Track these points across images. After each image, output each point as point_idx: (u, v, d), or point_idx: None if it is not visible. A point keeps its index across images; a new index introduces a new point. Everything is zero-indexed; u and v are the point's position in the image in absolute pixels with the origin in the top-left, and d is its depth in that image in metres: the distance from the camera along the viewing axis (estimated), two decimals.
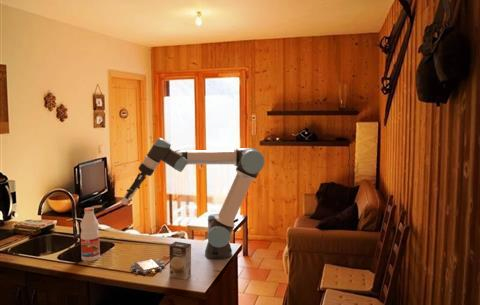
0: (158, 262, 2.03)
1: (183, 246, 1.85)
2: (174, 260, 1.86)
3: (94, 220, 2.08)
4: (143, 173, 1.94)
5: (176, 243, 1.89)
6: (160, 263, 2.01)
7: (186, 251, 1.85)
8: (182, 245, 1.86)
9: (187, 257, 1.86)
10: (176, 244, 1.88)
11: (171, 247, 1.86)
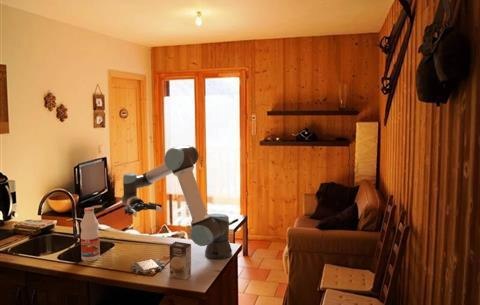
0: (158, 262, 2.03)
1: (183, 246, 1.85)
2: (174, 260, 1.86)
3: (94, 220, 2.08)
4: (131, 206, 2.13)
5: (176, 243, 1.89)
6: (160, 263, 2.01)
7: (186, 251, 1.85)
8: (182, 245, 1.86)
9: (187, 257, 1.86)
10: (176, 244, 1.88)
11: (171, 247, 1.86)
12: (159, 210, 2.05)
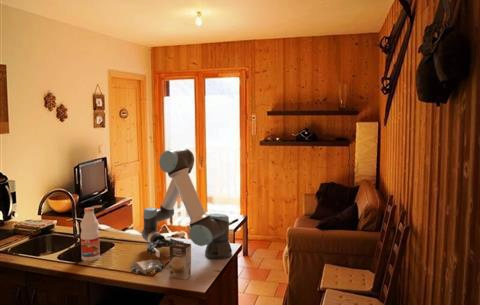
0: (158, 262, 2.03)
1: (183, 246, 1.85)
2: (174, 260, 1.86)
3: (94, 220, 2.08)
4: (152, 242, 2.10)
5: (176, 243, 1.89)
6: (160, 263, 2.01)
7: (186, 251, 1.85)
8: (182, 245, 1.86)
9: (187, 257, 1.86)
10: (176, 244, 1.88)
11: (171, 247, 1.86)
12: None
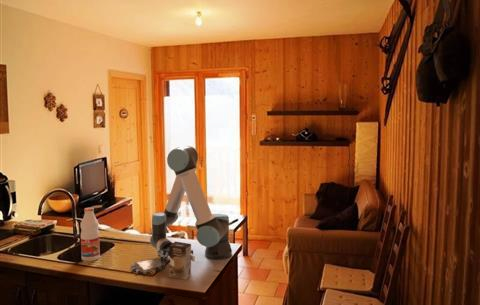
0: (158, 262, 2.03)
1: (183, 246, 1.85)
2: (174, 260, 1.86)
3: (94, 220, 2.08)
4: (161, 250, 1.98)
5: (176, 243, 1.89)
6: (160, 263, 2.01)
7: (186, 251, 1.85)
8: (182, 245, 1.86)
9: (187, 256, 1.86)
10: (176, 244, 1.88)
11: (171, 247, 1.86)
12: (191, 258, 1.89)
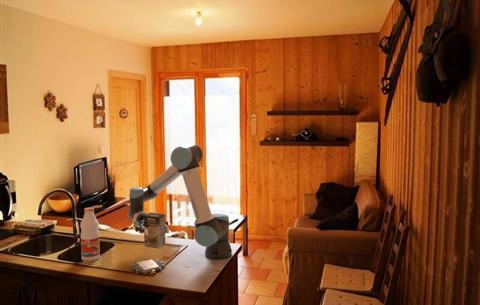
0: (158, 262, 2.03)
1: (157, 216, 1.91)
2: (148, 230, 1.92)
3: (94, 220, 2.08)
4: (137, 222, 2.04)
5: (151, 214, 1.95)
6: (160, 263, 2.01)
7: (160, 221, 1.90)
8: (156, 215, 1.92)
9: (161, 226, 1.92)
10: (150, 214, 1.94)
11: (146, 217, 1.92)
12: (166, 228, 1.95)
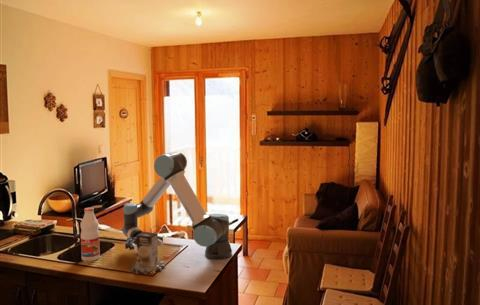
0: (158, 262, 2.03)
1: (149, 236, 1.95)
2: (140, 249, 1.96)
3: (94, 220, 2.08)
4: (131, 238, 2.08)
5: (143, 233, 1.99)
6: (160, 263, 2.01)
7: (152, 240, 1.94)
8: (148, 235, 1.96)
9: (153, 246, 1.96)
10: (143, 234, 1.98)
11: (138, 237, 1.96)
12: (160, 244, 2.00)
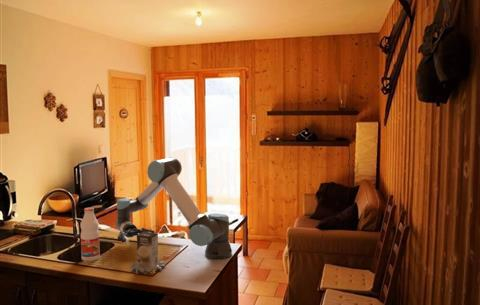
0: (158, 262, 2.03)
1: (149, 236, 1.95)
2: (141, 249, 1.96)
3: (94, 220, 2.08)
4: (124, 231, 2.19)
5: (143, 233, 1.99)
6: (160, 263, 2.01)
7: (152, 240, 1.94)
8: (148, 235, 1.96)
9: (154, 246, 1.96)
10: (143, 234, 1.98)
11: (138, 237, 1.96)
12: None
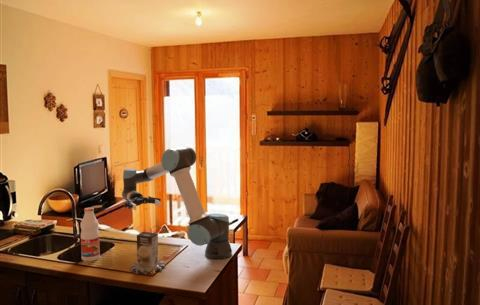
0: (158, 262, 2.03)
1: (149, 236, 1.95)
2: (141, 249, 1.96)
3: (94, 220, 2.08)
4: (131, 200, 2.19)
5: (143, 233, 1.99)
6: (160, 263, 2.01)
7: (152, 240, 1.94)
8: (148, 235, 1.96)
9: (154, 246, 1.96)
10: (143, 234, 1.98)
11: (138, 236, 1.96)
12: (158, 204, 2.11)
